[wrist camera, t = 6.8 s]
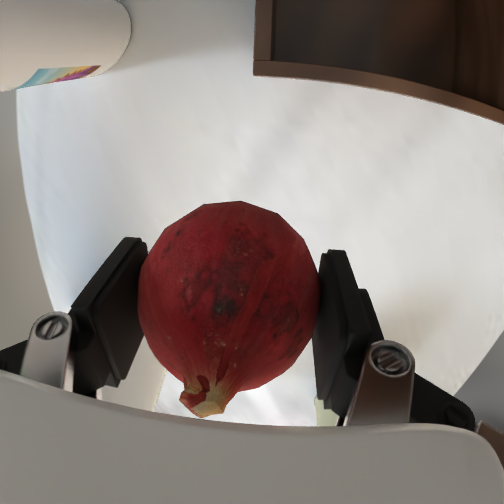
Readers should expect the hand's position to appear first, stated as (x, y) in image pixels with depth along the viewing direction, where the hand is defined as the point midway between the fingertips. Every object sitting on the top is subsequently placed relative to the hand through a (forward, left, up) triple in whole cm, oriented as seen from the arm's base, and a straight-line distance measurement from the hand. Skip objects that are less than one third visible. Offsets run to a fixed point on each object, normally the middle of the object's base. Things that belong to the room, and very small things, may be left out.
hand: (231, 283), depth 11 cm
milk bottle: (-15, +11, -18) cm, 26 cm away
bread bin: (+8, +14, -17) cm, 24 cm away
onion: (0, 0, -3) cm, 3 cm away
